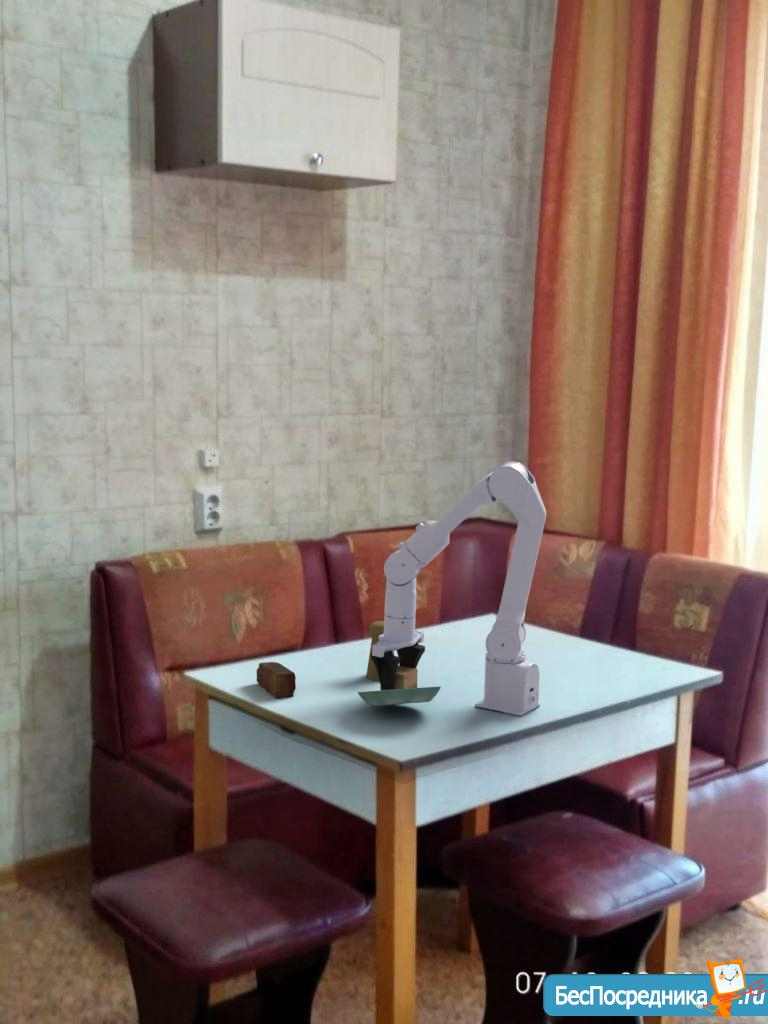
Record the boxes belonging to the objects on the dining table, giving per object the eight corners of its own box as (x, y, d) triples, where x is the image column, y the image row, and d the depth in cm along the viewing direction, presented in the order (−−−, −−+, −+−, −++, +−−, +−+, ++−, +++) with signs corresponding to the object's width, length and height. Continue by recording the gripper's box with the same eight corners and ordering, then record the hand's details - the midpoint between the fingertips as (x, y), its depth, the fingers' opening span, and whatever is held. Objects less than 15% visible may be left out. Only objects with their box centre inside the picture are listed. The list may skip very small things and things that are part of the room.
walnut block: (417, 694, 220) (417, 668, 220) (403, 701, 216) (404, 675, 216) (393, 690, 223) (394, 664, 222) (380, 697, 219) (380, 670, 218)
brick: (296, 697, 218) (296, 672, 217) (276, 699, 216) (276, 674, 216) (275, 682, 227) (275, 658, 227) (255, 684, 226) (255, 660, 225)
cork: (360, 678, 231) (361, 623, 229) (375, 670, 236) (376, 617, 234) (387, 682, 228) (389, 627, 226) (402, 675, 233) (403, 620, 232)
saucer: (350, 707, 202) (349, 691, 203) (367, 706, 217) (366, 692, 217) (435, 701, 200) (434, 685, 200) (447, 700, 214) (446, 686, 215)
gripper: (403, 605, 225) (399, 674, 227) (359, 618, 213) (356, 691, 215) (434, 611, 221) (431, 681, 223) (392, 625, 209) (388, 699, 211)
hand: (396, 686), depth 219 cm, fingers open, 6 cm apart
